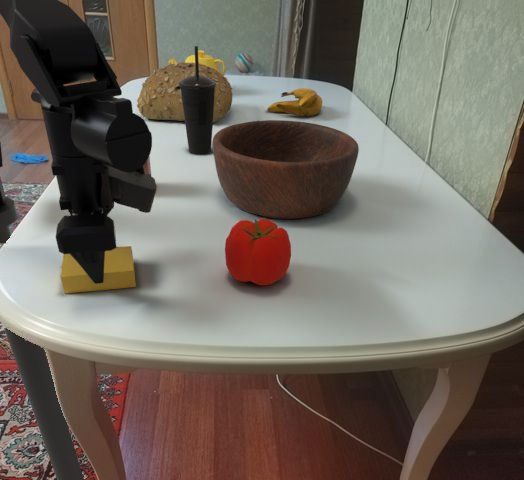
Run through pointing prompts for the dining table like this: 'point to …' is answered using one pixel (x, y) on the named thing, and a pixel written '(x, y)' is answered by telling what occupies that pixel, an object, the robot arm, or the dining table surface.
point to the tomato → (257, 251)
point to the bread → (179, 92)
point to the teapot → (204, 61)
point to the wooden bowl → (284, 167)
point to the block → (115, 272)
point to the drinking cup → (198, 110)
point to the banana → (299, 103)
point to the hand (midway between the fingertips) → (99, 268)
